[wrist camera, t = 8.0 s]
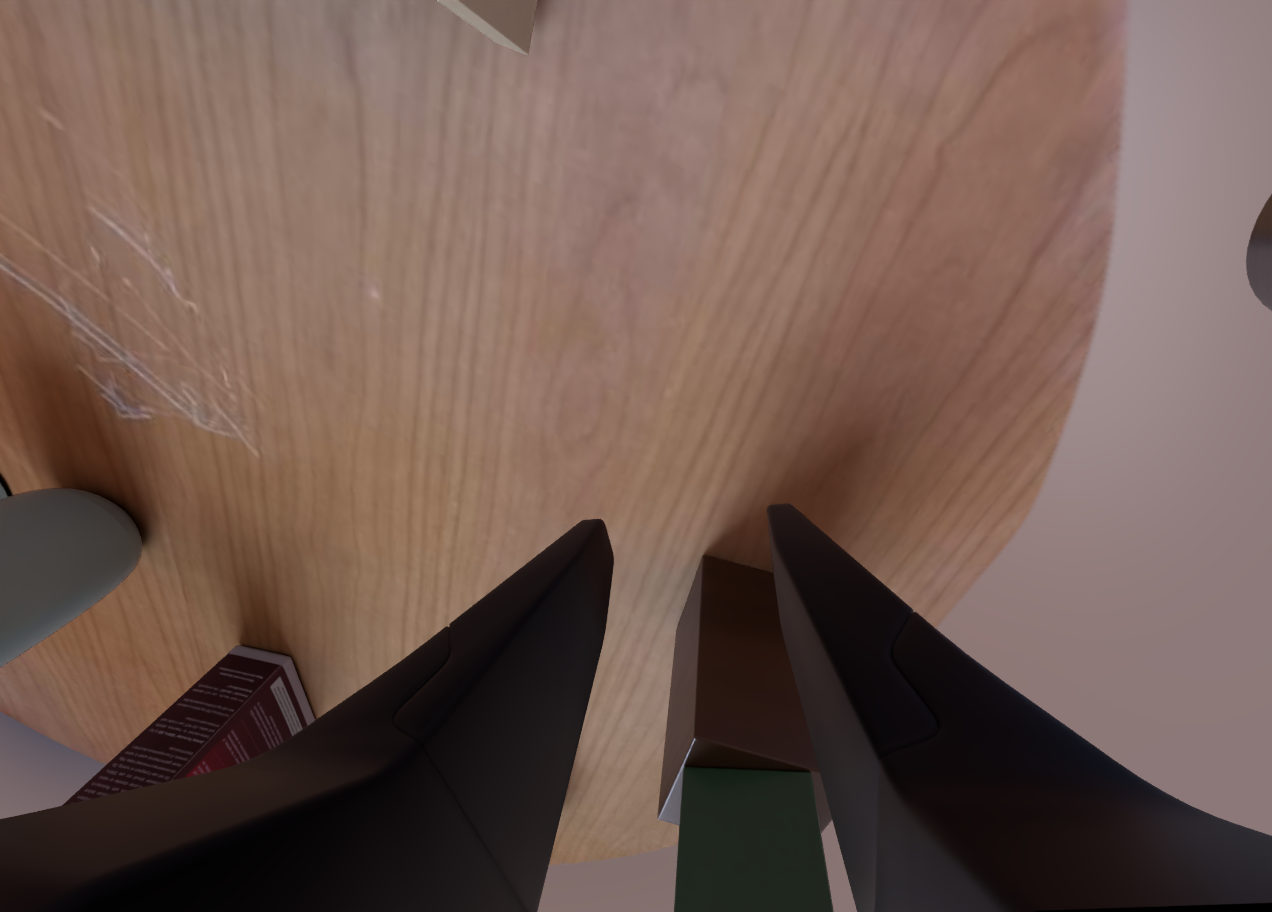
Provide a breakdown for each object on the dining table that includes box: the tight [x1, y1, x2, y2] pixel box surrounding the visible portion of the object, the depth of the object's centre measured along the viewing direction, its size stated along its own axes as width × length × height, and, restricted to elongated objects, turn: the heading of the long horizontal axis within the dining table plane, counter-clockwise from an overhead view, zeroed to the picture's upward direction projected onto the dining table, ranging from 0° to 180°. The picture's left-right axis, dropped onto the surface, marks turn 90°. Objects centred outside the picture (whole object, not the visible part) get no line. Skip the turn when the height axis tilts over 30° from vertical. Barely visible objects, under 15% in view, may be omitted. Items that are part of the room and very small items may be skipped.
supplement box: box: [62, 646, 315, 806], centre depth 31 cm, size 9×5×16 cm, turn 175°
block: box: [674, 767, 833, 912], centre depth 16 cm, size 4×4×4 cm
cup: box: [0, 488, 142, 668], centre depth 27 cm, size 8×8×10 cm
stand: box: [658, 555, 832, 833], centre depth 23 cm, size 6×6×10 cm
